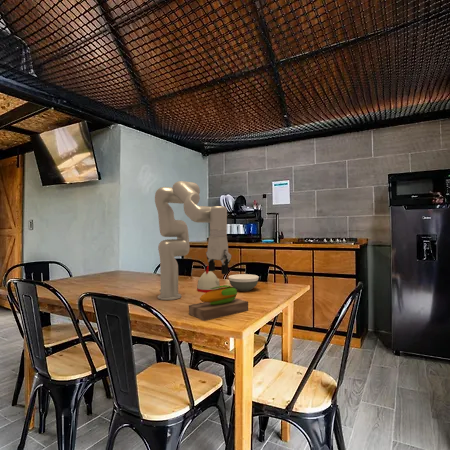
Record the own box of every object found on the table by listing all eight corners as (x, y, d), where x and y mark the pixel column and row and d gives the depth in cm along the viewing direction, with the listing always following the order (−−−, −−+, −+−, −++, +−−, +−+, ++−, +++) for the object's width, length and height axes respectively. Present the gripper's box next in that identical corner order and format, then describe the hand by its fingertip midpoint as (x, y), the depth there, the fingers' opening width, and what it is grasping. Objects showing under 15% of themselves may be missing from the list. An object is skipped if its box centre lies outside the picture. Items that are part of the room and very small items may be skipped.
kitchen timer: (222, 288, 189) (222, 264, 189) (216, 293, 175) (216, 267, 175) (201, 287, 192) (201, 264, 192) (193, 292, 179) (193, 266, 179)
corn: (240, 284, 137) (205, 290, 124) (241, 301, 137) (206, 308, 124) (230, 283, 143) (195, 288, 130) (231, 299, 142) (195, 306, 130)
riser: (188, 314, 131) (188, 305, 131) (231, 305, 146) (231, 297, 146) (204, 320, 121) (204, 310, 121) (248, 310, 136) (248, 301, 136)
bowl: (234, 286, 196) (234, 273, 196) (262, 288, 189) (262, 274, 189) (223, 291, 179) (223, 277, 179) (254, 293, 172) (254, 279, 172)
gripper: (200, 233, 139) (200, 270, 139) (223, 234, 125) (223, 276, 125) (213, 233, 143) (213, 269, 143) (237, 234, 130) (237, 274, 130)
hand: (218, 272), depth 134 cm, fingers open, 9 cm apart
